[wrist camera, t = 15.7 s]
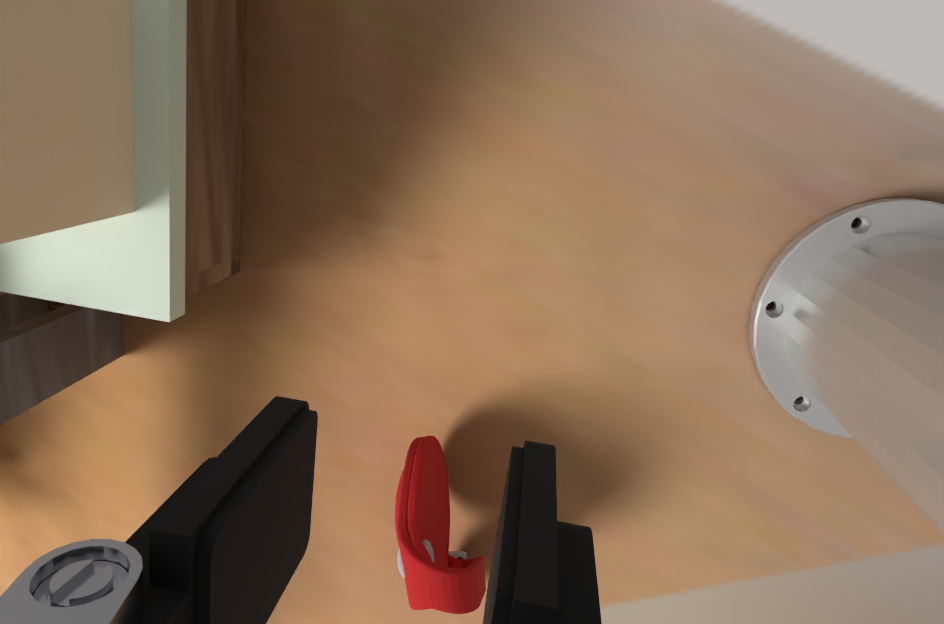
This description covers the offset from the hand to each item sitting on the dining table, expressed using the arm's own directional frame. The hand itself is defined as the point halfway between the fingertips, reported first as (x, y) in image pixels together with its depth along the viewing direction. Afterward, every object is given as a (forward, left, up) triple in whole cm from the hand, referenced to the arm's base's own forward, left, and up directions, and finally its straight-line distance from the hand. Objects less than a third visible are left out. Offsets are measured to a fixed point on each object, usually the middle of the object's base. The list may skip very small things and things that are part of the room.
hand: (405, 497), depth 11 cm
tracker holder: (0, +16, -24) cm, 29 cm away
